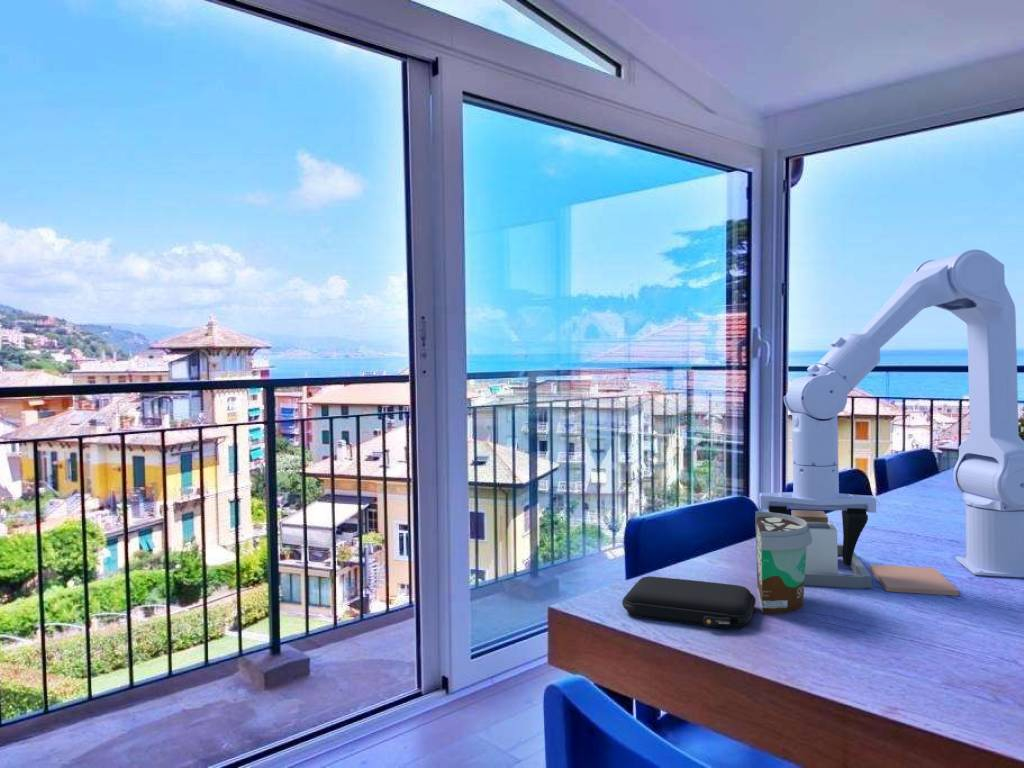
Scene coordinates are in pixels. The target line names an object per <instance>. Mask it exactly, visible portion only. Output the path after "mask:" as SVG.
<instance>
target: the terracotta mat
mask: <svg viewBox="0 0 1024 768" xmlns="http://www.w3.org/2000/svg"><path fill="white" fill-rule="evenodd" d="M869 569H870V571H871V572H872V573H873V575H874V576H875V578H876V579H877V580H878V582H879V583H880V584H881V586H882V587H883V588H884V589H885V591H886V592H895V593H908V594H909V593H910V594H924V595H925V594H926V595H927V594H928V595H941V596H957V597H959V596H960V595H959V594H960V592H959V590H958V589H957V588H956V587H955V586H954V585H953V584H952V583H951V582H950V581H949V580H948V579H947V578H946V577H945V576H943V574H942V573H940V572H939V570H937V569H936V568H935V567H921V566H903V565H885V564H869Z"/></svg>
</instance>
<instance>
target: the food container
mask: <svg viewBox="0 0 1024 768" xmlns="http://www.w3.org/2000/svg"><path fill="white" fill-rule="evenodd" d="M754 519H755V526H754V527H755V550H756V586H757V587H756V590H757V593H758V594H757V595H758V600H759V604H760V609H761V614H762V615H787V614H792V613H796V612H798V611H800V610H802V608H803V606H804V597H805V595H804V594H805V585H804V581H805V564H806V547H807V546H808V545H810V544H811V543H812V537H811V533H810V529H809V527H808V526H807V522H806V521H805V520H803V519H801V518H798V517H795V516H791V515H790V514H789V515H786V514H780V513H772V512H769V511H755V518H754Z"/></svg>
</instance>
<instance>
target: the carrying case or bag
mask: <svg viewBox="0 0 1024 768" xmlns="http://www.w3.org/2000/svg"><path fill="white" fill-rule="evenodd" d="M756 602H757V601H756V597H755V595H754V594H752V593H751V591H750V590H749V589H748V587H746V586H742V585H738V584H731V583H729V584H728V583H720V582H712V581H711V582H710V581H702V580H692V579H681V578H673V577H672V578H670V577H662V576H643V577H641V578H640V579H639V580H638V581H637V582H636V583H635V584H634V585H633V586H632V587H631V589H630V590H629V591H628V592H627V594H625V595H624V597H623V599H622V601H621V604H622V606H623V607H622V608H624V609H625V610H626V612H627V613H628V614H629V615H630V616H632V617H635V618H643V619H649V618H650V619H651V620H657V619H658V621H664V620H666V622H674V623H683V624H690V625H697V626H704V627H705V626H706V627H713V628H722V629H728V630H729V629H730V630H731V629H733V630H737V629H739V630H740V629H742V628H744V627H745V626H746V625H747V623H749V622H750V621H751V619H752V617H753V613H754V609H755V606H756Z"/></svg>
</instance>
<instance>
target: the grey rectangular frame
mask: <svg viewBox="0 0 1024 768" xmlns="http://www.w3.org/2000/svg"><path fill="white" fill-rule="evenodd" d="M837 553H838V556H841V557H843V543H837ZM849 567H850V570H851V571H852V573H851V574H850V573H838V574H836V573H818V572H805V581H804V586H812V587H826V588H827V587H828V588H845V589H862V590H863V589H864V590H865V588H867V589H872V588H873V577H872V575H871V574H870V572H869V571H868V569H867V567H865V565H864V564H863V562H862V561H861V560H860V558H859V557H858V556H857V554H856V552H855V551H854V552H853V556H852V562H851V566H849ZM853 573H854V574H853Z"/></svg>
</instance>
